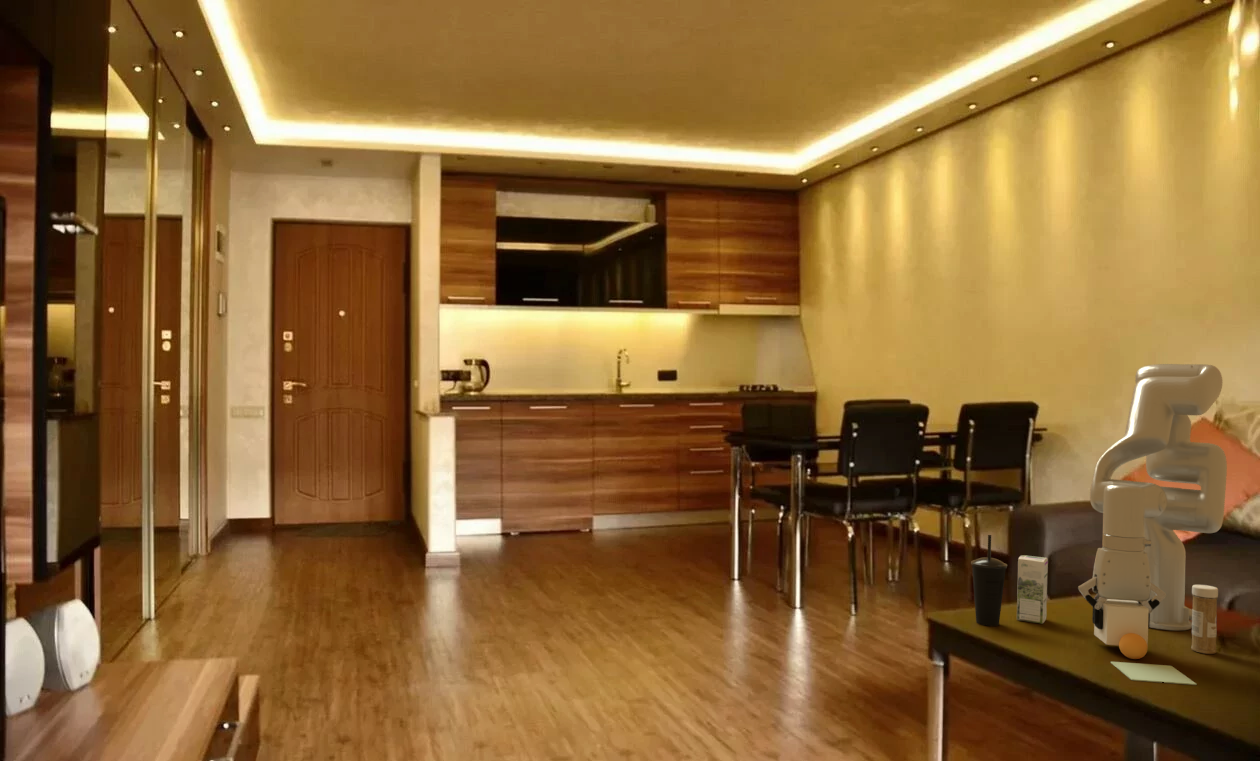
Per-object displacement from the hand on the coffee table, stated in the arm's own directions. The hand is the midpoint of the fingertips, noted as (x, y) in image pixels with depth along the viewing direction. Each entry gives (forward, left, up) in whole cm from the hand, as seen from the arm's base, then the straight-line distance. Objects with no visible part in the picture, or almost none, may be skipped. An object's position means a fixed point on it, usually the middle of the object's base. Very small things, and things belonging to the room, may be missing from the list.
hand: (1120, 628), depth 188 cm
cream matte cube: (0, 0, -3) cm, 3 cm away
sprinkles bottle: (-17, -3, -5) cm, 18 cm away
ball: (0, +6, -2) cm, 7 cm away
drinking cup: (+23, -15, -5) cm, 28 cm away
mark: (0, +16, -4) cm, 16 cm away
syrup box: (+12, -21, -5) cm, 25 cm away
